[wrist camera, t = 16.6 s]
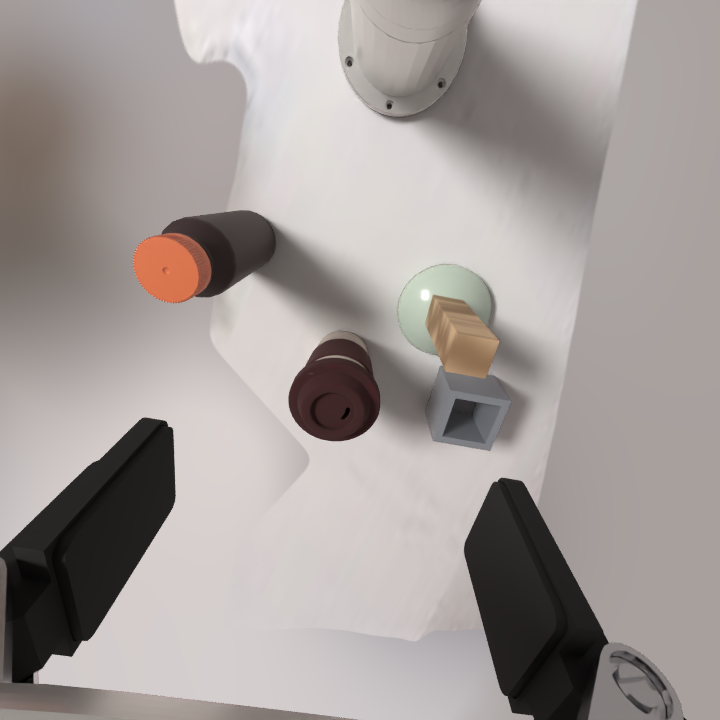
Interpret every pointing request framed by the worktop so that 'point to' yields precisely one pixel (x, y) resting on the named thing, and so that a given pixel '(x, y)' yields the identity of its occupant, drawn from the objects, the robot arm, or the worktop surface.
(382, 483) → the worktop surface
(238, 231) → the bottle
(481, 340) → the oak peg
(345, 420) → the coffee cup
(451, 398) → the gray open square box
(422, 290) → the mint green dome
